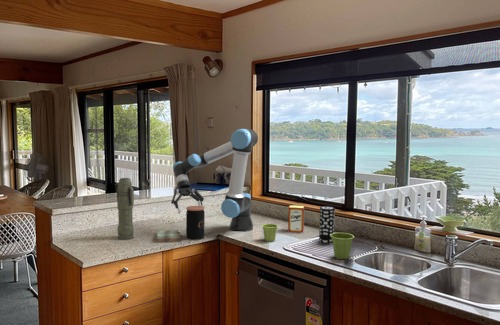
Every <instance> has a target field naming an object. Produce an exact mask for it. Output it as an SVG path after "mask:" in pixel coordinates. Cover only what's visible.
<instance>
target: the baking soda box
mask: <svg viewBox="0 0 500 325" xmlns="http://www.w3.org/2000/svg"><path fill="white" fill-rule="evenodd" d="M288 231H289V232H288ZM303 231H305V205H303V206H302V205H289V206H288V227H287V232H288V233H300V232H303ZM303 233H304V232H303Z"/></svg>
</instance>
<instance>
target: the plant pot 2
mask: <svg viewBox="0 0 500 325" xmlns="http://www.w3.org/2000/svg"><path fill="white" fill-rule="evenodd" d="M330 236H331V238H332V242H333V244H332V248H333V256H334V258H335V259H339V260H343V259H345V260H347V259H349V258H350V256H351V249H352V243H353V242H354V241H353V240H354V238H355V236H354V235H353V234H351V233H348V232H334V233H333V234H331V235H330Z"/></svg>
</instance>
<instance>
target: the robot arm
mask: <svg viewBox="0 0 500 325" xmlns="http://www.w3.org/2000/svg"><path fill="white" fill-rule="evenodd" d="M258 141H259V137H258V134H257V132H256V131H255V130H254V129H251V128H250V129H249V128H239V129H236V130H235V131H233V132H232V134H231V135H230V141H228V142H226V143H224V144H221V145H220V146H217V147H215V148H213V149H210V150H209V151H206V152H204V153H201V154H200V155H198V154H196V153H192V154H191V155H189V156H188V157H187V158H186V159H184V160H183V161H176V162H175V163H173V165H172V168H173V174H174V176H175V181H176V184H177V188H174V191H173V197H172V199H171V202H170V203H171V204H172V205H174V208H175V209H177V213H178V214H181V211H182V210H181V206H180V203H179V201H180V200H181V198H182V197H190V198H193V199H194V200H195V201H197V206H203V204H204V203H203V202H204V200H205V198H204V197H203V196H202V195H201V193H199V191H198V190H197V187H194V188H191V184H190V180H189V176H188V173H189V172H191V171H193V170H194V169H197V168H204V167H206V166H208V165H209V164H211V163H213V162H216V161H218V160H220V159H223V158H224V157H227V156H229V155H231V154H233V159H232V166H231V172H230V173H231V174H230V177H229V178H230V179H229V185H228V191H227V192H226V193H225V196H224V200H223V201H222V203H221V206H220V209H221V212H222V214H223V215H224V216H225V217H227V218H230V219H231V220H230V223H229V229H230V230H231V229H233V230H232V231H235V230H241V231H240V232H247V231H246V230H249V231H252V230H253V229H254V223H253V220H252V217H251V214H252V213H251V211H252V206H251V205H252V198H251V197H252V196H251V194H250V193H246V192H245V193H244V192H243V191H244V184H245V178H246V173H247V165H248V159H249V158H248V157H249V156H250V154H251V153H252V149H253V147H255V146H256V145H257V143H258ZM177 194H179V195H178V196H177V198H176V195H177ZM251 229H252V230H251Z"/></svg>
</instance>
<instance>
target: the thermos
mask: <svg viewBox="0 0 500 325" xmlns="http://www.w3.org/2000/svg"><path fill="white" fill-rule="evenodd" d="M117 185H118V186H117V187H116V203H117V206H116V208H117V210H118V211H117V212H118V215H117V216H118V217H117V218H118V225H117V239H118V240H120V241H122V240H123V241H127V240H132V239H134V233H135V232H134V231H135V230H134V229H135V228H134V224H133V223H134V222H133V209H134V204H135V203H134V200H135V197H134V194H135V193H134V192H135V190H134V187H133V186H132V185H133V182H132V180H131V178H129V177H121V178H119V180H118V183H117Z"/></svg>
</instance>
